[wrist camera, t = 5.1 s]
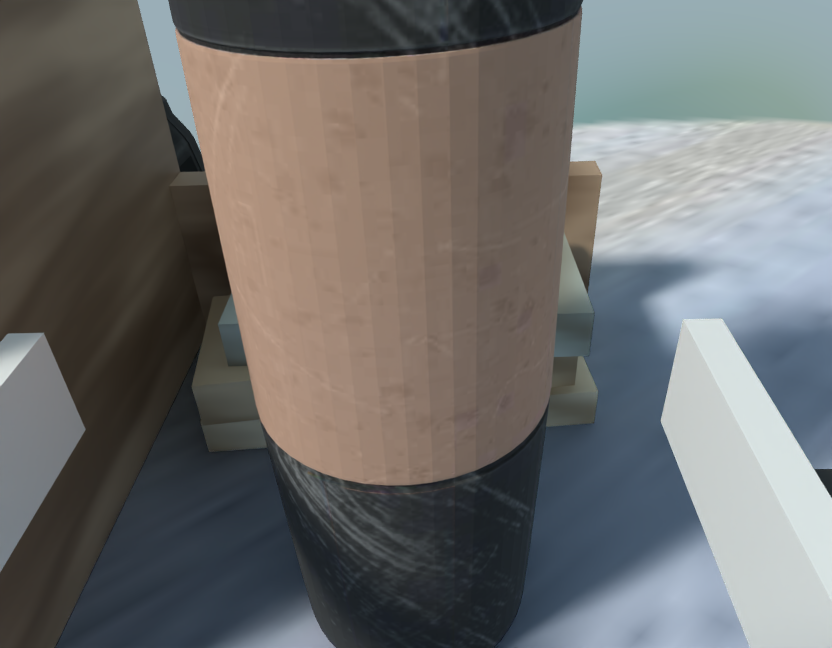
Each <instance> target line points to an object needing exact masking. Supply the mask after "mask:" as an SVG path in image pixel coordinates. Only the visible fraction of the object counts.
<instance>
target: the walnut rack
mask: <svg viewBox="0 0 832 648" xmlns="http://www.w3.org/2000/svg"><path fill="white" fill-rule="evenodd" d="M601 180H602V174H601V172H600V170H599V168H598V166H597V164H596V162H595V161H579V162H570V166H569V178H568V190H567V202H566V214H565V226H564V233H565V236H566V239H567V241H568V244H569V246H570V249H571V252H572V254H573V257H574V260H575V262H576V265H577V268H578V270H579V273H580V276H581V278H582V281H583V284H584V286H585V289H586V291H587V294H588V286H589V278H590V269H591V261H592V253H593V245H594V237H595V229H596V220H597V212H598V204H599V196H600V188H601ZM231 293H232V292H231V287H230V283H229V278H228V273H227V269H226V264H225V259H224V255H223V250H222V246H221V241H220V236H219V232H218V227H217V222H216V218H215V213H214V209H213V204H212V199H211V195H210V190H209V186H208V181H207V176H206V172H205V171H204V172H180V169H179V165H178V161H177V157H176V153H175V149H174V145H173V141H172V137H171V133H170V129H169V125H168V121H167V117H166V113H165V109H164V105H163V101H162V97H161V93H160V89H159V85H158V82H157V77H156V73H155V69H154V65H153V61H152V57H151V53H150V49H149V45H148V41H147V37H146V33H145V29H144V25H143V21H142V17H141V13H140V9H139V5H138V1H137V0H0V342H1V341H2V340H3V339H4V337H5V336H6V335H7V334H12V333H44V335H45V337H46V339H47V342H48V344H49V346H50V349H51V351H52V353H53V356H54V358H55V360H56V362H57V365H58V367H59V369H60V372H61V374H62V376H63V379H64V381H65V383H66V386H67V388H68V390H69V393H70V395H71V397H72V399H73V402H74V404H75V406H76V409H77V411H78V413H79V416H80V418H81V420H82V423H83V425H84V427H85V429H86V430H85V431H84V433H83V435H82V436H81V438H80V440H79V441H78V443H77V445H76V447H75V448H74V450H73V452H72V453H71V455H70V457H69V458H68V460H67V462H66V463H65V465H64V467H63V468H62V470H61V472H60V473H59V475H58V477H57V478H56V480H55V482H54V483H53V485H52V487H51V488H50V490H49V492H48V493H47V495H46V497H45V498H44V500H43V502H42V503H41V505H40V507H39V508H38V510H37V512H36V513H35V515H34V517H33V518H32V520H31V522H30V523H29V525H28V527H27V528H26V530H25V532H24V533H23V535H22V537H21V538H20V540H19V542H18V543H17V545H16V547H15V548H14V550H13V552H12V553H11V555H10V557H9V558H8V560H7V562H6V563H5V565H4V567H3V569H2V570H1V572H0V648H55V646H56V644H57V642H58V640H59V638H60V636H61V634H62V632H63V630H64V628H65V625H66V623H67V621H68V619H69V617H70V615H71V613H72V611H73V609H74V607H75V605H76V603H77V601H78V598H79V596H80V594H81V592H82V590H83V588H84V586H85V584H86V582H87V580H88V578H89V576H90V574H91V571H92V569H93V567H94V565H95V563H96V561H97V559H98V557H99V555H100V553H101V551H102V549H103V547H104V545H105V542H106V540H107V538H108V536H109V534H110V532H111V530H112V528H113V526H114V524H115V522H116V520H117V518H118V515H119V513H120V511H121V509H122V507H123V505H124V503H125V501H126V499H127V497H128V495H129V493H130V491H131V488H132V486H133V484H134V482H135V480H136V478H137V476H138V474H139V472H140V470H141V468H142V466H143V464H144V462H145V459H146V457H147V455H148V453H149V451H150V449H151V447H152V445H153V443H154V441H155V439H156V437H157V435H158V432H159V430H160V428H161V426H162V424H163V422H164V420H165V418H166V416H167V414H168V412H169V410H170V408H171V405H172V403H173V401H174V399H175V397H176V395H177V393H178V391H179V389H180V387H181V385H182V383H183V381H184V379H185V376H186V374H187V372H188V370H189V368H190V366H191V364H192V362H193V360H194V358H195V356H196V354H197V352H198V349H199V347H200V345H201V343H202V341H203V337H204V332H205V328H206V324H207V320H208V316H209V312H210V307H211V303H212V299H213V297H217V296H227V295H231Z"/></svg>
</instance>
